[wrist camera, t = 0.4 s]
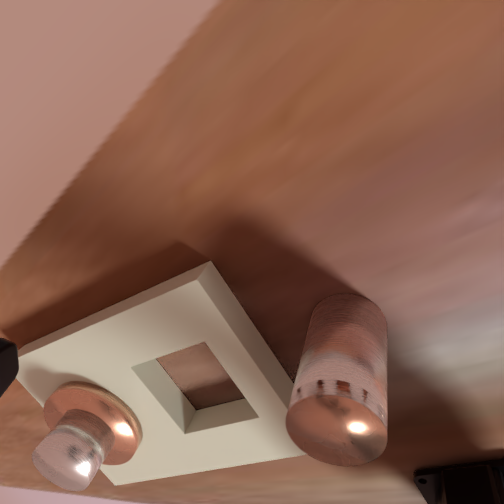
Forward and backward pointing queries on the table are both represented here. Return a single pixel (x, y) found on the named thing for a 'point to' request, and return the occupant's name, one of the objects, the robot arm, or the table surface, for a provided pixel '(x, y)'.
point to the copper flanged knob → (85, 434)
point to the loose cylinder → (342, 383)
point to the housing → (163, 387)
